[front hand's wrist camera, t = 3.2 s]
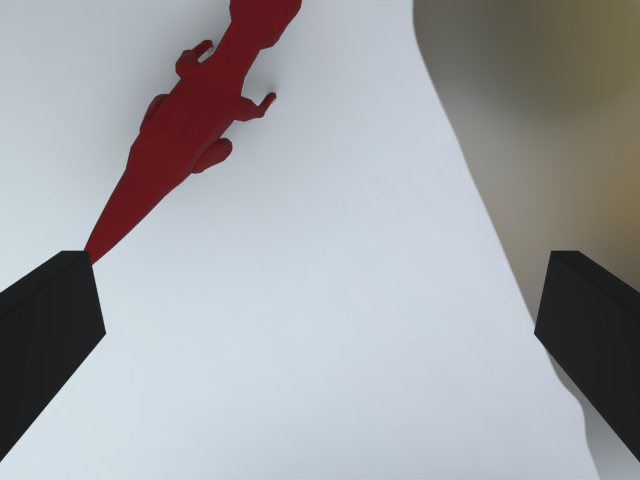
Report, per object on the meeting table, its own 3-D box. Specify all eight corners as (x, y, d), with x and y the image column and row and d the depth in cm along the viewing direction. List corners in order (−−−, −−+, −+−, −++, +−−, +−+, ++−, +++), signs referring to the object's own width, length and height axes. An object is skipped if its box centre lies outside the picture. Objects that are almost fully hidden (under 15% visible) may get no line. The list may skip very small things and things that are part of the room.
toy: (289, 88, 42) (362, -23, 28) (120, 307, 33) (107, 300, 19) (227, 36, 40) (272, -108, 27) (32, 252, 31) (-50, 203, 18)
